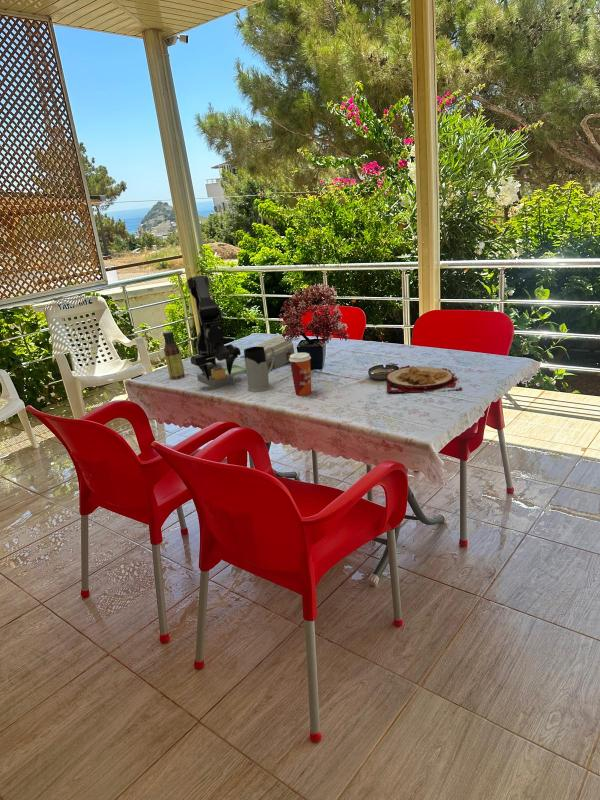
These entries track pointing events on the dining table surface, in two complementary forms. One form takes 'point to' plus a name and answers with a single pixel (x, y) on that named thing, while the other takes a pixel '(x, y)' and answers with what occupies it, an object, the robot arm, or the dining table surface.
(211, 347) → the robot arm
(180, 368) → the sauce bottle
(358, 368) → the dining table surface
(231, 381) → the power strip
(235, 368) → the tray
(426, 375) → the plate with food
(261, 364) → the grey pitcher
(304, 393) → the paper cup
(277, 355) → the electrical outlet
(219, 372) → the plug
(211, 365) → the twin plug
